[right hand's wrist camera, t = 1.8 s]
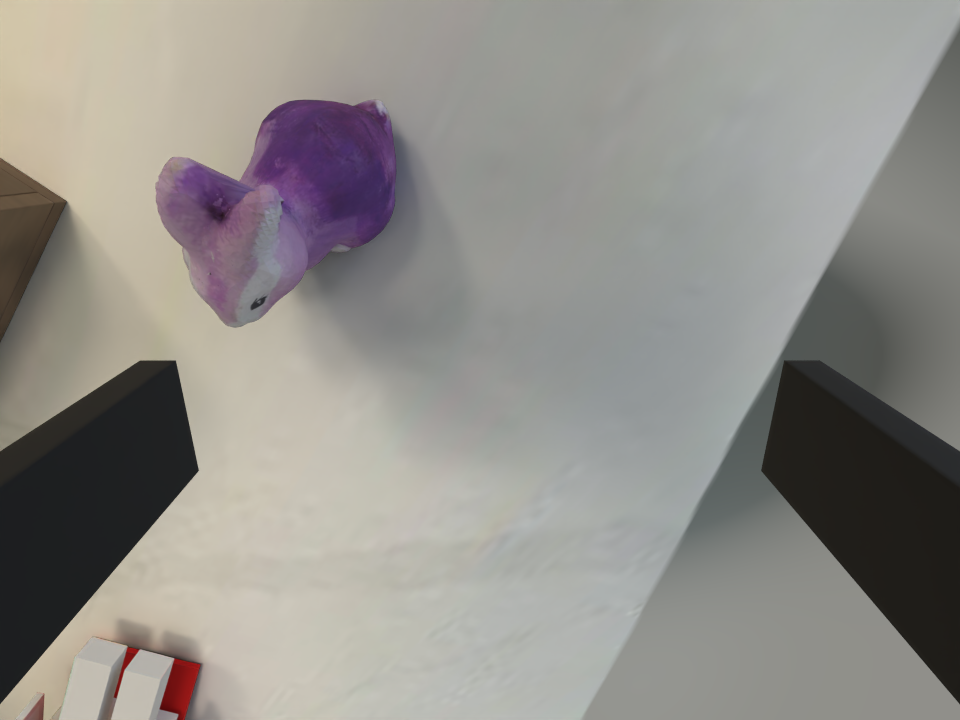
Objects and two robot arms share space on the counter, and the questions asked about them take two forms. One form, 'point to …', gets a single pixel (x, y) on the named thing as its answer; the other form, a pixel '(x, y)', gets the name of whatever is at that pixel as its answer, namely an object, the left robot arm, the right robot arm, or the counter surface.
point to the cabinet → (22, 234)
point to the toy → (122, 686)
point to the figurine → (281, 203)
